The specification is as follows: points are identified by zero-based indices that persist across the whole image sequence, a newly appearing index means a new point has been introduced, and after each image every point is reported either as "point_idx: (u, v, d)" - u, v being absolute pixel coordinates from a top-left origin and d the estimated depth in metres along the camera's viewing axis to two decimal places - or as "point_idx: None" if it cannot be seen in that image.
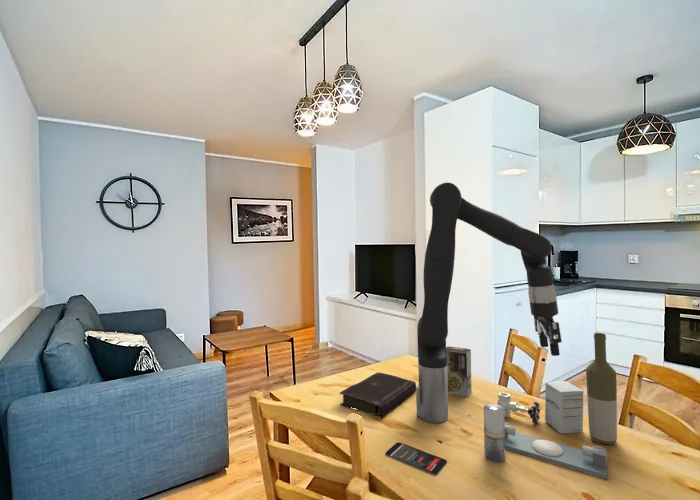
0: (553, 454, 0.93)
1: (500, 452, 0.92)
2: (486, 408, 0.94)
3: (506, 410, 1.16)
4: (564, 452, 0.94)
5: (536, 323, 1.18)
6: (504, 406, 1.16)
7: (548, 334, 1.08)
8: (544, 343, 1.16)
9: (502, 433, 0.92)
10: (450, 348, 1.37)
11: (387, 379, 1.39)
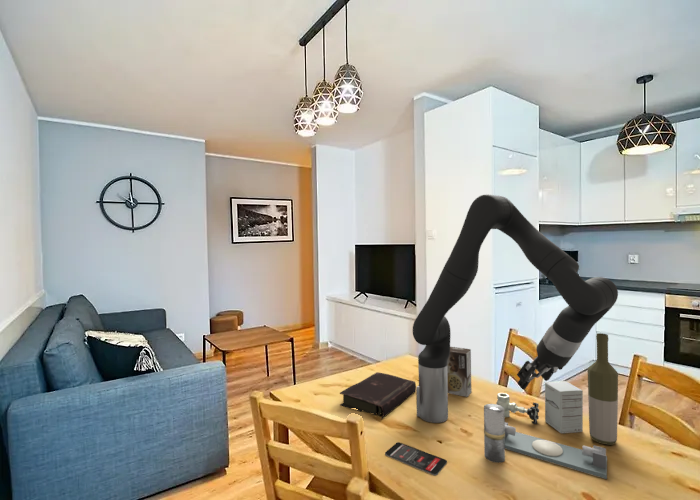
0: (553, 454, 0.93)
1: (500, 452, 0.92)
2: (486, 408, 0.94)
3: (505, 411, 1.16)
4: (564, 452, 0.94)
5: None
6: (503, 407, 1.15)
7: None
8: (544, 375, 1.00)
9: (502, 433, 0.92)
10: (450, 348, 1.37)
11: (387, 379, 1.39)
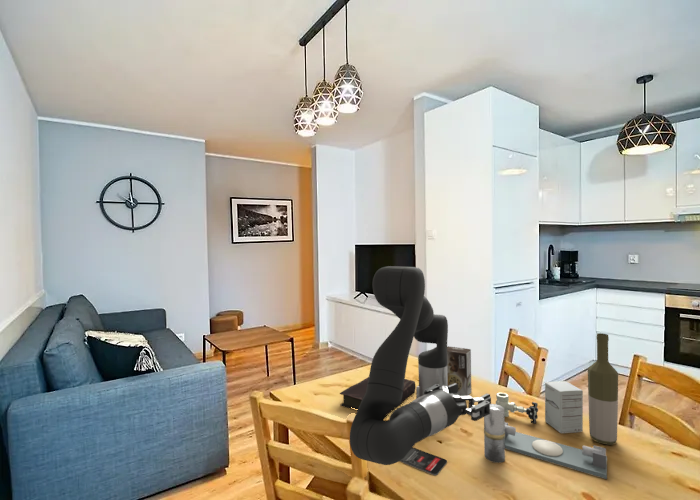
0: (553, 454, 0.93)
1: (500, 452, 0.92)
2: None
3: (504, 410, 1.16)
4: (564, 452, 0.94)
5: None
6: None
7: None
8: None
9: (502, 433, 0.92)
10: (450, 348, 1.37)
11: None
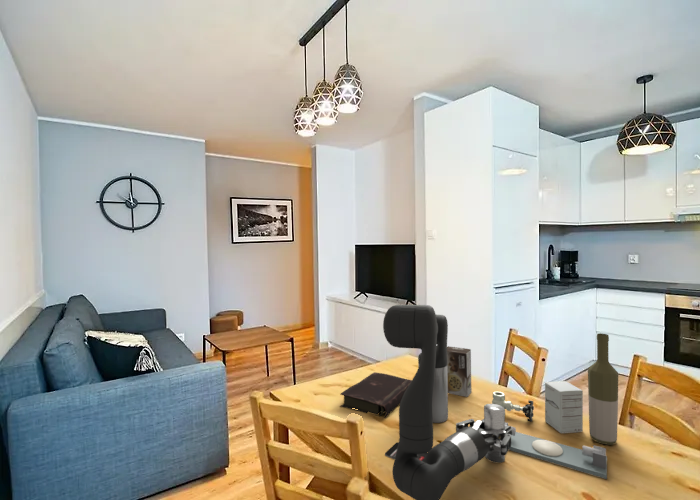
0: (553, 454, 0.93)
1: (500, 452, 0.92)
2: (486, 408, 0.94)
3: None
4: (564, 452, 0.94)
5: (503, 439, 0.87)
6: None
7: None
8: None
9: None
10: (450, 348, 1.37)
11: (385, 378, 1.39)
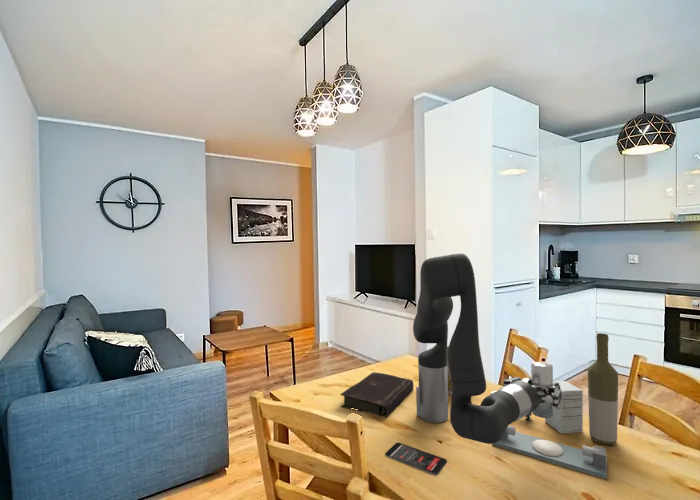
0: (553, 454, 0.93)
1: (549, 407, 0.93)
2: (534, 365, 0.95)
3: None
4: (564, 452, 0.94)
5: (554, 392, 0.88)
6: None
7: None
8: None
9: None
10: None
11: (385, 378, 1.40)
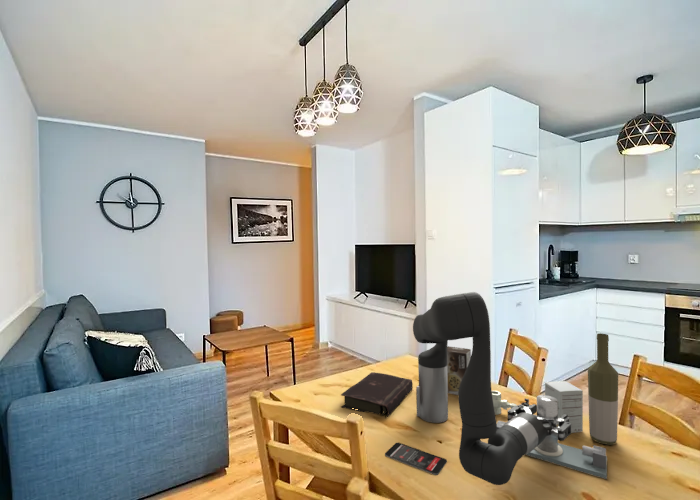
0: (553, 454, 0.93)
1: (554, 442, 0.94)
2: (540, 399, 0.96)
3: (497, 408, 1.18)
4: (564, 452, 0.94)
5: (561, 426, 0.88)
6: (496, 405, 1.17)
7: (525, 411, 0.96)
8: None
9: None
10: (450, 348, 1.37)
11: (384, 378, 1.40)
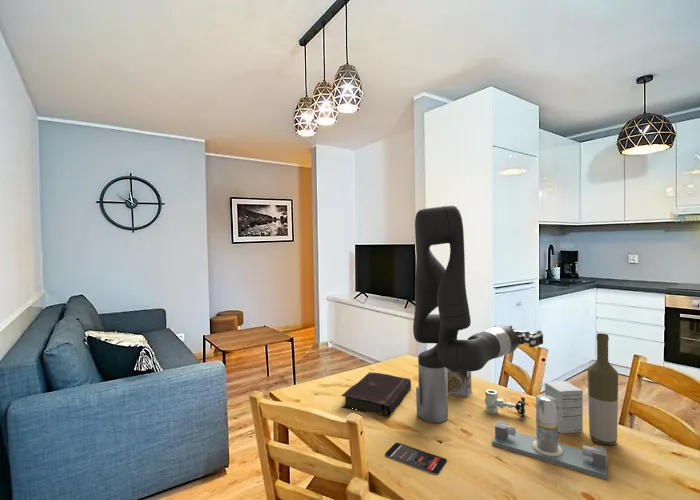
0: (553, 454, 0.93)
1: (554, 442, 0.94)
2: (539, 399, 0.96)
3: (494, 407, 1.18)
4: (564, 452, 0.94)
5: (534, 336, 0.97)
6: (492, 404, 1.18)
7: None
8: None
9: (556, 423, 0.94)
10: None
11: (382, 378, 1.40)
